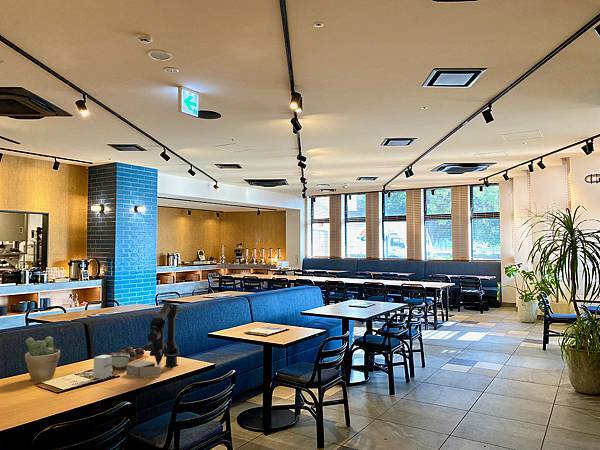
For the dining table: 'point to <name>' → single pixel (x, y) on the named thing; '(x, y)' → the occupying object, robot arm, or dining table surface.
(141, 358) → the tray of pastries
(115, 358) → the food container
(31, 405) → the dining table surface
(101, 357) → the supplement box
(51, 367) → the potted plant
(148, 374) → the end flap
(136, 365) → the carton
